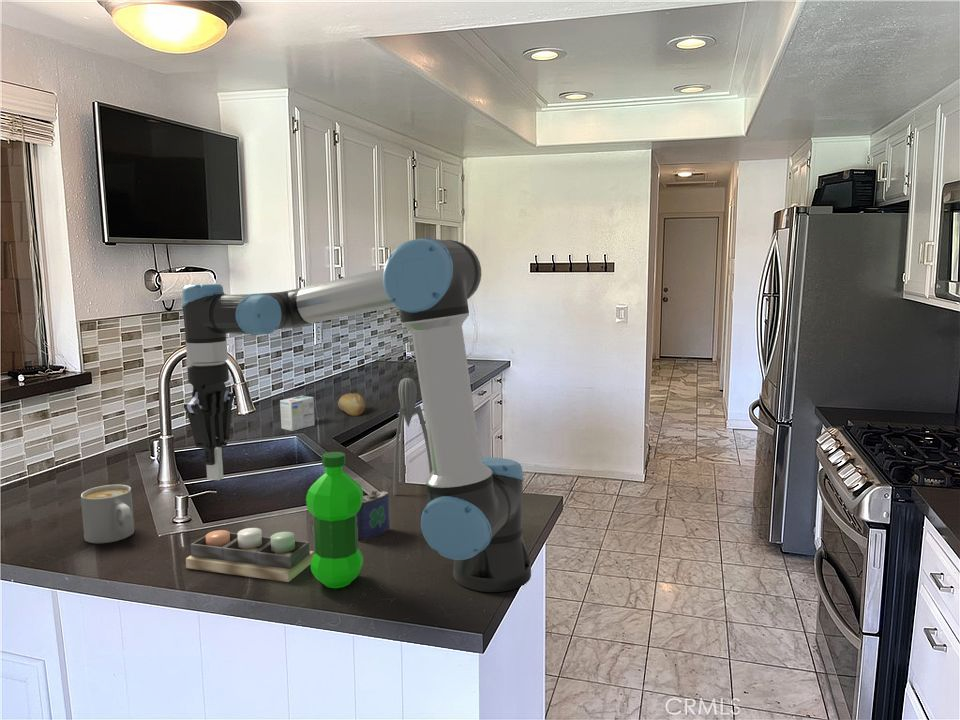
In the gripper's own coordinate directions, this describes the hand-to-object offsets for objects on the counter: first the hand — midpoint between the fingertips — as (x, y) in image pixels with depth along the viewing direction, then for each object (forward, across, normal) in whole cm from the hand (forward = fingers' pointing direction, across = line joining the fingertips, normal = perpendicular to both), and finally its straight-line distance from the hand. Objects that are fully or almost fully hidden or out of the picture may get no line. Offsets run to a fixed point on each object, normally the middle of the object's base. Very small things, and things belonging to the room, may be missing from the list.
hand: (215, 478), depth 141 cm
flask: (+18, -20, +25) cm, 37 cm away
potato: (+17, -134, -36) cm, 139 cm away
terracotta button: (+14, 0, 0) cm, 14 cm away
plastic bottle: (+18, +2, +28) cm, 33 cm away
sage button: (+13, 0, +15) cm, 20 cm away
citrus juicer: (+18, -53, +22) cm, 60 cm away
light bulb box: (+17, -107, -44) cm, 117 cm away
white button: (+13, 0, +7) cm, 15 cm away
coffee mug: (+17, -4, -31) cm, 36 cm away
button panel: (+17, 0, +7) cm, 19 cm away
